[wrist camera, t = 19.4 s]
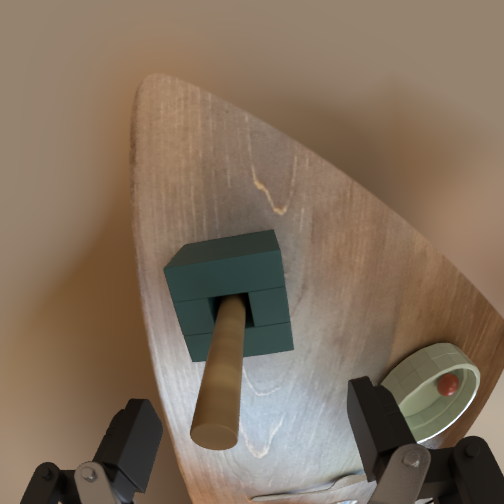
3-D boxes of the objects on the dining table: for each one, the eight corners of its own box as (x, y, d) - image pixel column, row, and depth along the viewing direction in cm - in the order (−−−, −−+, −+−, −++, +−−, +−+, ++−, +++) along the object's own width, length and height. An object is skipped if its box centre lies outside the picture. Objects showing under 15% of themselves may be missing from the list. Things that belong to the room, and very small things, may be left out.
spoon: (368, 474, 34) (371, 481, 33) (256, 502, 37) (256, 509, 35) (366, 465, 33) (368, 472, 32) (247, 495, 36) (247, 502, 34)
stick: (224, 272, 24) (183, 424, 9) (245, 269, 24) (232, 423, 9) (228, 292, 25) (197, 451, 9) (249, 288, 24) (242, 449, 9)
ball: (440, 385, 25) (460, 372, 24) (430, 378, 28) (449, 365, 27) (445, 404, 24) (464, 390, 24) (436, 396, 27) (454, 383, 27)
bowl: (375, 358, 27) (392, 388, 22) (469, 327, 26) (492, 348, 21) (366, 430, 30) (376, 458, 25) (447, 401, 29) (462, 423, 25)
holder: (184, 244, 23) (162, 268, 18) (273, 229, 23) (280, 249, 17) (204, 322, 25) (192, 362, 20) (286, 311, 25) (294, 350, 19)
